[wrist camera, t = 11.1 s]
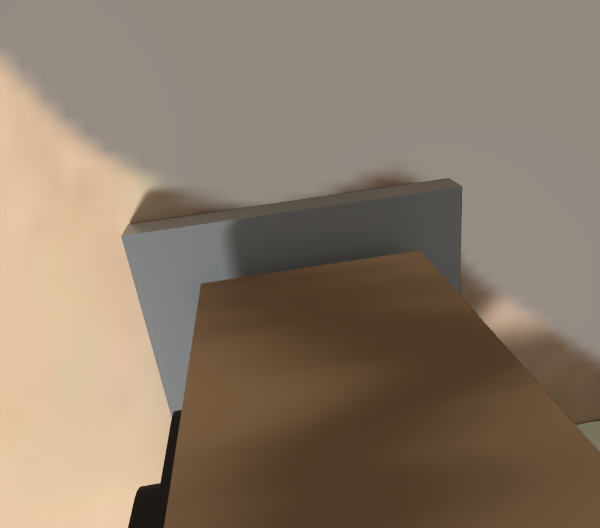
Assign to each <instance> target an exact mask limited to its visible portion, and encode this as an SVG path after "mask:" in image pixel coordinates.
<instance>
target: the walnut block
mask: <svg viewBox="0 0 600 528" xmlns="http://www.w3.org/2000/svg"><path fill="white" fill-rule="evenodd" d="M164 528H600V452H599V450H598V449H597V448H596V447H595V446H594V445H593V444H592V443H591V441H590V440H589V439H588V438H587V437H586V436H585V435H584V434H583V433H582V431H581V430H580V429H579V428H578V427H577V426H576V425H575V424H574V422H573V421H572V420H571V419H570V418H569V417H568V416H567V415H566V413H565V412H564V411H563V410H562V409H561V408H560V407H559V406H558V405H557V403H556V402H555V401H554V400H553V399H552V398H551V397H550V396H549V394H548V393H547V392H546V391H545V390H544V389H543V388H542V387H541V385H540V384H539V383H538V382H537V381H536V380H535V379H534V378H533V377H532V375H531V374H530V373H529V372H528V371H527V370H526V369H525V368H524V366H523V365H522V364H521V363H520V362H519V361H518V360H517V359H516V358H515V356H514V355H513V354H512V353H511V352H510V351H509V350H508V349H507V347H506V346H505V345H504V344H503V343H502V342H501V341H500V340H499V338H498V337H497V336H496V335H495V334H494V333H493V332H492V331H491V330H490V328H489V327H488V326H487V325H486V324H485V323H484V322H483V321H482V319H481V318H480V317H479V316H478V315H477V314H476V313H475V312H474V310H473V309H472V308H471V307H470V306H469V305H468V304H467V303H466V302H465V300H464V299H463V298H462V297H461V296H460V295H459V294H458V293H457V291H456V290H455V289H454V288H453V287H452V286H451V285H450V284H449V282H448V281H447V280H446V279H445V278H444V277H443V276H442V275H441V274H440V272H439V271H438V270H437V269H436V268H435V267H434V266H433V265H432V263H431V262H430V261H429V260H428V259H427V258H426V257H425V256H424V255H423V253H422V252H421V251H420V250H419V251H412V252H406V253H399V254H393V255H386V256H379V257H373V258H366V259H360V260H353V261H346V262H340V263H333V264H326V265H320V266H313V267H307V268H300V269H293V270H287V271H280V272H274V273H267V274H260V275H254V276H247V277H241V278H234V279H227V280H221V281H214V282H208V283H201V286H200V293H199V300H198V306H197V313H196V319H195V326H194V332H193V339H192V346H191V352H190V359H189V365H188V372H187V379H186V385H185V392H184V398H183V405H182V412H181V418H180V425H179V431H178V438H177V444H176V451H175V458H174V464H173V471H172V477H171V484H170V491H169V497H168V504H167V510H166V517H165V523H164Z"/></svg>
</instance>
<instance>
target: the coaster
mask: <svg viewBox="0 0 600 528" xmlns="http://www.w3.org/2000/svg"><path fill="white" fill-rule="evenodd" d="M461 215H462V186H460V185H459V184H457V183H456V182H454V181H453V180H451V179H449V178H448V179H440V180H433V181H426V182H420V183H413V184H406V185H399V186H392V187H385V188H378V189H371V190H364V191H357V192H350V193H343V194H336V195H330V196H323V197H316V198H309V199H302V200H295V201H288V202H281V203H274V204H267V205H260V206H253V207H246V208H239V209H233V210H226V211H219V212H212V213H205V214H198V215H191V216H184V217H177V218H170V219H163V220H156V221H149V222H143V223H136V224H129V225H128V226H127V227H126V229H125V231H124V232H123V234H122V236H121V237H122V240H123V244H124V248H125V251H126V255H127V258H128V262H129V266H130V269H131V273H132V276H133V280H134V283H135V287H136V291H137V294H138V298H139V301H140V305H141V309H142V312H143V316H144V319H145V323H146V326H147V330H148V334H149V337H150V341H151V344H152V348H153V352H154V355H155V359H156V362H157V366H158V370H159V373H160V377H161V380H162V384H163V387H164V391H165V395H166V398H167V402H168V405H169V409H170V413H171V416H172V415H173V412H174V411H178V410H182V405H183V398H184V392H185V385H186V379H187V372H188V365H189V359H190V352H191V346H192V339H193V332H194V326H195V319H196V313H197V306H198V300H199V293H200V286H201V283H208V282H214V281H221V280H227V279H234V278H241V277H247V276H254V275H260V274H267V273H274V272H280V271H287V270H293V269H300V268H307V267H313V266H320V265H326V264H333V263H340V262H346V261H353V260H360V259H366V258H373V257H379V256H386V255H393V254H399V253H406V252H412V251H419V250H420V251H421V252H422V253H423V255H424V256H425V257H426V258H427V259H428V260H429V261H430V262H431V263H432V265H433V266H434V267H435V268H436V269H437V270H438V271H439V272H440V274H441V275H442V276H443V277H444V278H445V279H446V280H447V281H448V282H449V284H450V285H451V286H452V287H453V288H454V289H455V290H456V291H457V293H458V294H459V295H460V260H461Z"/></svg>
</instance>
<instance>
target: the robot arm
mask: <svg viewBox="0 0 600 528" xmlns="http://www.w3.org/2000/svg"><path fill="white" fill-rule="evenodd" d="M181 412H182V410H178V411H174V412H173V415H172V421H171V426H170V432H169V438H168V444H167V449H166V455H165V461H164V467H163V473H162V478H161V483H159V484H154V485H148V486H142V487H140V488H139V489H138V491H137V493H136V496H135V500H134V504H133V509H132V513H131V517H130V522H129V526H128V528H164V523H165V517H166V510H167V504H168V497H169V491H170V484H171V477H172V471H173V464H174V458H175V451H176V444H177V438H178V431H179V425H180V418H181Z"/></svg>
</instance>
